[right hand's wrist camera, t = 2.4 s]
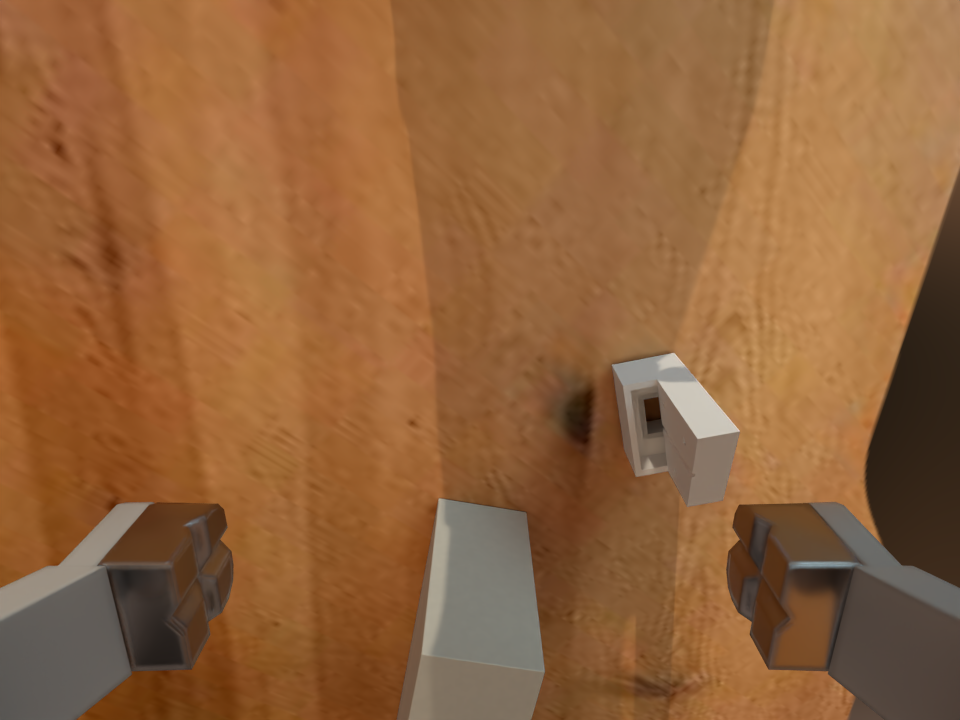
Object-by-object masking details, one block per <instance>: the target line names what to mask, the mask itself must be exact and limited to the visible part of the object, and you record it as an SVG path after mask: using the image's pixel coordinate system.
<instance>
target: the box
mask: <svg viewBox="0 0 960 720" xmlns="http://www.w3.org/2000/svg"><path fill="white" fill-rule="evenodd" d="M544 673H545V669H544V660H543V651H542V643H541V634H540V626H539V617H538V609H537V600H536V591H535V583H534V574H533V566H532V557H531V548H530V540H529V531H528V523H527V514H526V512H521V511H515V510H509V509H503V508H496V507H490V506H484V505H478V504H472V503H465V502H459V501H453V500H447V499H440V498H439V499H438V505H437V510H436V515H435V520H434V526H433V531H432V536H431V542H430V547H429V552H428V557H427V563H426V568H425V573H424V578H423V584H422V589H421V594H420V599H419V605H418V610H417V615H416V621H415V626H414V631H413V636H412V642H411V647H410V652H409V657H408V663H407V668H406V673H405V678H404V684H403V689H402V694H401V700H400V705H399V710H398V715H397V720H531V719H532V715H533V712H534V708H535V705H536V701H537V698H538V694H539V691H540V687H541V684H542V680H543V677H544Z"/></svg>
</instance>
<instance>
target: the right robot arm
mask: <svg viewBox="0 0 960 720" xmlns="http://www.w3.org/2000/svg"><path fill="white" fill-rule="evenodd" d="M226 529H227V522H226V517H225V512H224V509H223V508H222V507H221V506H220V505H219V504H209V503H160V502H157V503H153V502H126V503H121V504H117V505H116V506H115V507H114V508H113V509H112V510H111V511H110V512H109V514H108V515H107V516H106V517H105V518H104V519H103V520H102V521H101V522H100V523H99V524H98V525H97V526H96V527H95V528H94V529H93V530H92V531H91V532H90V533H89V534H88V535H87V536H86V537H85V538H84V540H83V541H82V542H81V543H80V544H79V545H78V546H77V547H76V548H75V549H74V550H73V551H72V552H71V553H70V554H69V555H68V556H67V557H66V558H65V559H64V560H63V561H62V562H61V563H60V564H59V566H46V567H44V568H42V569H40V570H38V571H36V572H34V573H31V574H29V575H27V576H25V577H23V578H21V579H19V580H17V581H14V582H12V583H10V584H8V585H6V586H4V587H2V588H0V720H76V719H77V718H79V717H80V716H81V715H82V714H83V713H85V712H86V711H87V710H88V709H90V708H91V707H92V706H93V705H95V704H96V703H97V702H98V701H100V700H101V699H102V698H103V697H104V696H106V695H107V694H108V693H109V692H111V691H112V690H113V689H114V688H116V687H117V686H118V685H119V684H121V683H122V682H123V681H124V680H125V679H127V678H128V677H129V676H130V675H132V672H131V671H154V670H189V669H192V668H193V666H194V664H195V662H196V660H197V658H198V656H199V655H200V653H201V651H202V649H203V647H204V645H205V643H206V641H207V640H208V638H209V636H210V630H209V624H208V622H209V621H210V620H212V619H213V618H214V617H216V616H217V615H219V614H220V613H222V611H223V609H224V607H225V605H226V603H227V601H228V599H229V596H230V591H231V587H232V583H233V558H232V552H231V550H230V549H229V548H228V547H227V546H226V545H225V544H224V543H223V542H222V541H221V540H220V539H221V537H222V536H223V534H224V532H225V531H226ZM733 529H734V531H735V532H736V534H737V536H738V537H739V539H740V540H739V541H738V542H737V543H736V544H735V545H734V546H733V547H732V548H731V549H730V550H729V552H728V560H727V568H726V571H727V582H728V589H729V592H730V595H731V599H732V601H733V603H734V605H735V607H736V609H737V611H738V613H740V614H741V615H743V616H744V617H746V618H747V619H748V620H750V621H751V622H752V624H751V630H750V636H751V638H752V640H753V641H754V643H755V645H756V647H757V649H758V651H759V653H760V655H761V656H762V658H763V660H764V662H765V664H766V666H767V668H768V669H769V670H805V671H829V672H828V674H829V675H830V676H831V677H832V678H834V679H835V680H836V681H837V682H839V683H840V684H841V685H842V686H843V687H845V688H846V689H847V690H848V691H850V692H851V693H852V694H853V695H855V696H856V697H857V698H858V699H860V700H861V701H862V702H863V703H864V704H866V705H867V706H868V707H869V708H871V709H872V710H873V711H874V712H876V713H877V714H878V715H879V716H881V717H882V718H883V719H884V720H960V588H958V587H956V586H954V585H952V584H950V583H948V582H945V581H943V580H941V579H939V578H937V577H935V576H933V575H931V574H929V573H926V572H924V571H922V570H920V569H918V568H916V567H914V566H902V565H901V564H900V563H899V562H898V561H897V560H896V559H895V558H894V557H893V556H892V555H891V554H890V553H889V552H888V551H887V550H886V549H885V548H884V547H883V546H882V545H881V544H880V543H879V541H878V540H877V539H876V538H875V537H874V536H873V535H872V534H871V533H870V532H869V531H868V530H867V529H866V528H865V527H864V526H863V525H862V524H861V523H860V522H859V521H858V520H857V519H856V518H855V516H854V515H853V514H852V513H851V512H850V511H849V510H848V509H847V508H846V507H845V506H844V505H842V504H839V503H837V502H816V503H794V504H750V505H739V506H738V508H737V510H736V512H735V516H734V521H733Z"/></svg>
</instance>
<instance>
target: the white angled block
mask: <svg viewBox="0 0 960 720" xmlns="http://www.w3.org/2000/svg"><path fill="white" fill-rule="evenodd" d="M612 370H613V377H614V384H615V391H616V397H617V404H618V411H619V418H620V424H621V431H622V438H623V445H624V451H625V453H626V455H627V458H628V460H629V462H630V464H631V467H632V469H633V471H634V474H635V476H636V477H638V476H644V475H650V474H655V473H661V472H666V471H668V472H669V474H670V476H671V478H672V479H673V481H674V483H675V485H676V487H677V489H678V491H679V493H680V494H681V496H682V498H683V500H684V502H685V504H686V506H687V507H689V506H695V505H701V504H706V503H712V502H718V501H723V498H724V494H725V490H726V486H727V482H728V478H729V474H730V470H731V466H732V462H733V457H734V453H735V449H736V445H737V441H738V437H739V433H740V431H739V430H738V428H737V427H736V426H735V425H734V424H733V422H732V421H731V420H730V419H729V418H728V417H727V415H726V414H725V413H724V412H723V411H722V409H721V408H720V407H719V406H718V405H717V403H716V402H715V401H714V400H713V399H712V397H711V396H710V395H709V394H708V393H707V391H706V390H705V389H704V388H703V387H702V386H701V384H700V383H699V382H698V381H697V380H696V378H695V377H694V376H693V375H692V374H691V372H690V371H689V370H688V369H687V368H686V366H685V365H684V364H683V363H682V362H681V361H680V359H679V358H678V357H677V356H676V355H675V353H671V354H666V355H660V356H655V357H650V358H645V359H640V360H635V361H629V362H624V363H619V364H614V365H612ZM656 397H658V398H659V406H660V414H661V419H659V420H654V421H648V422H646V414H645V407H644V400H645V399H650V398H656Z"/></svg>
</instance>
